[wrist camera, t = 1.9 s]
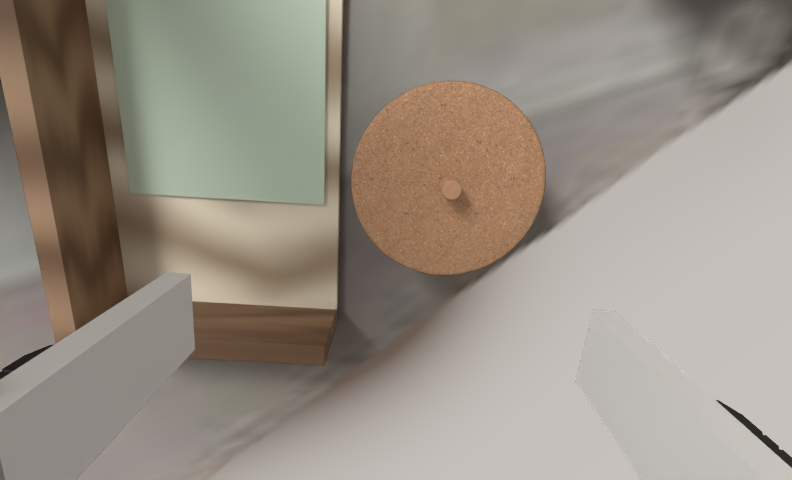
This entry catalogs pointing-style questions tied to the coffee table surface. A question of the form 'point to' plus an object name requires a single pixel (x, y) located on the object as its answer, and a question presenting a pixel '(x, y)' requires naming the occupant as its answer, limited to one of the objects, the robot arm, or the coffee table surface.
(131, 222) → the board
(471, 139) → the lidded jar
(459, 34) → the coffee table surface
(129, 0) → the pad
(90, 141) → the walls
